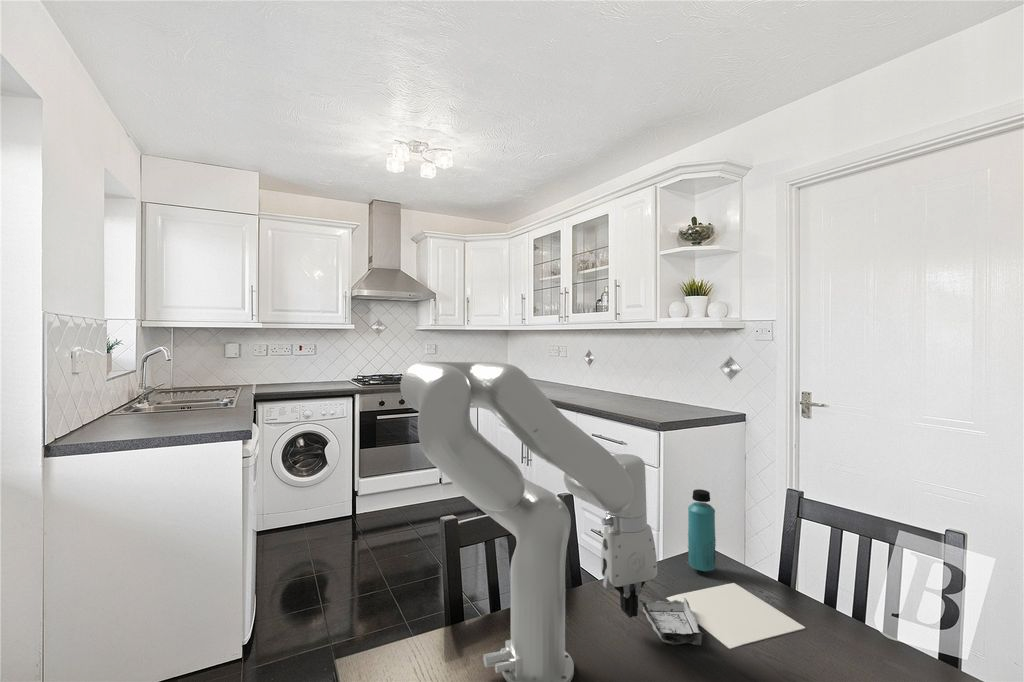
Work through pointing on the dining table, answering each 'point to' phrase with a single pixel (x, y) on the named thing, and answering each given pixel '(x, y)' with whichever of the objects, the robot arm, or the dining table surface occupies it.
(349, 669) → the dining table surface
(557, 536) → the robot arm
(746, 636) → the mat
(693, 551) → the beverage bottle
